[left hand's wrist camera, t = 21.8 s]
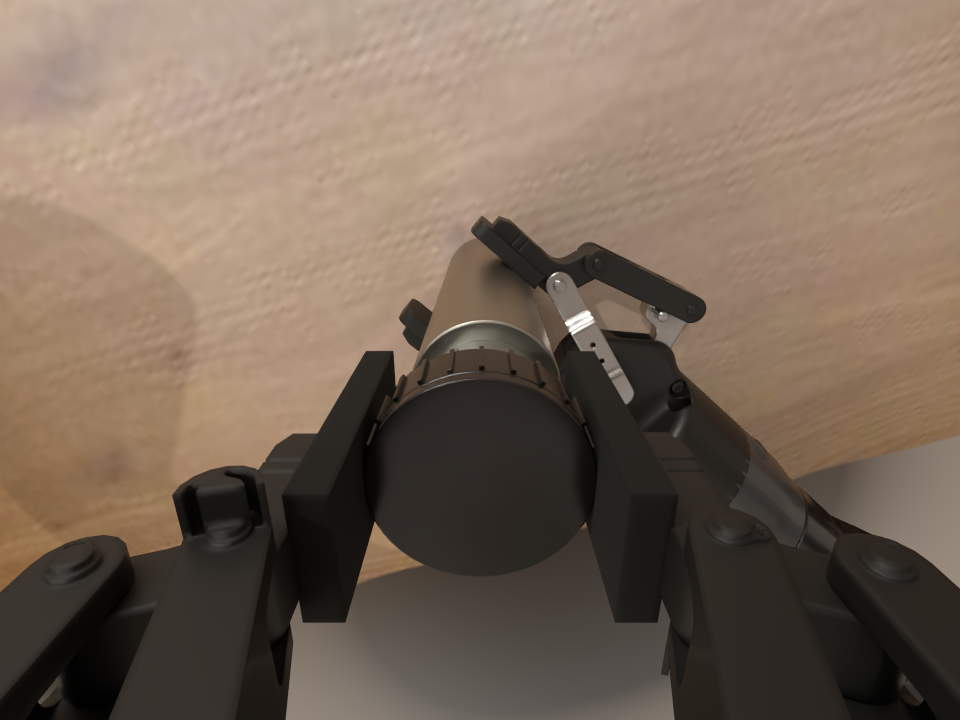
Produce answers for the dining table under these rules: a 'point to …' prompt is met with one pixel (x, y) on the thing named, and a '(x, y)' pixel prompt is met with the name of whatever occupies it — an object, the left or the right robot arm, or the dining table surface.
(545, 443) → the lid
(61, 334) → the dining table surface
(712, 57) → the dining table surface
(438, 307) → the bottle
